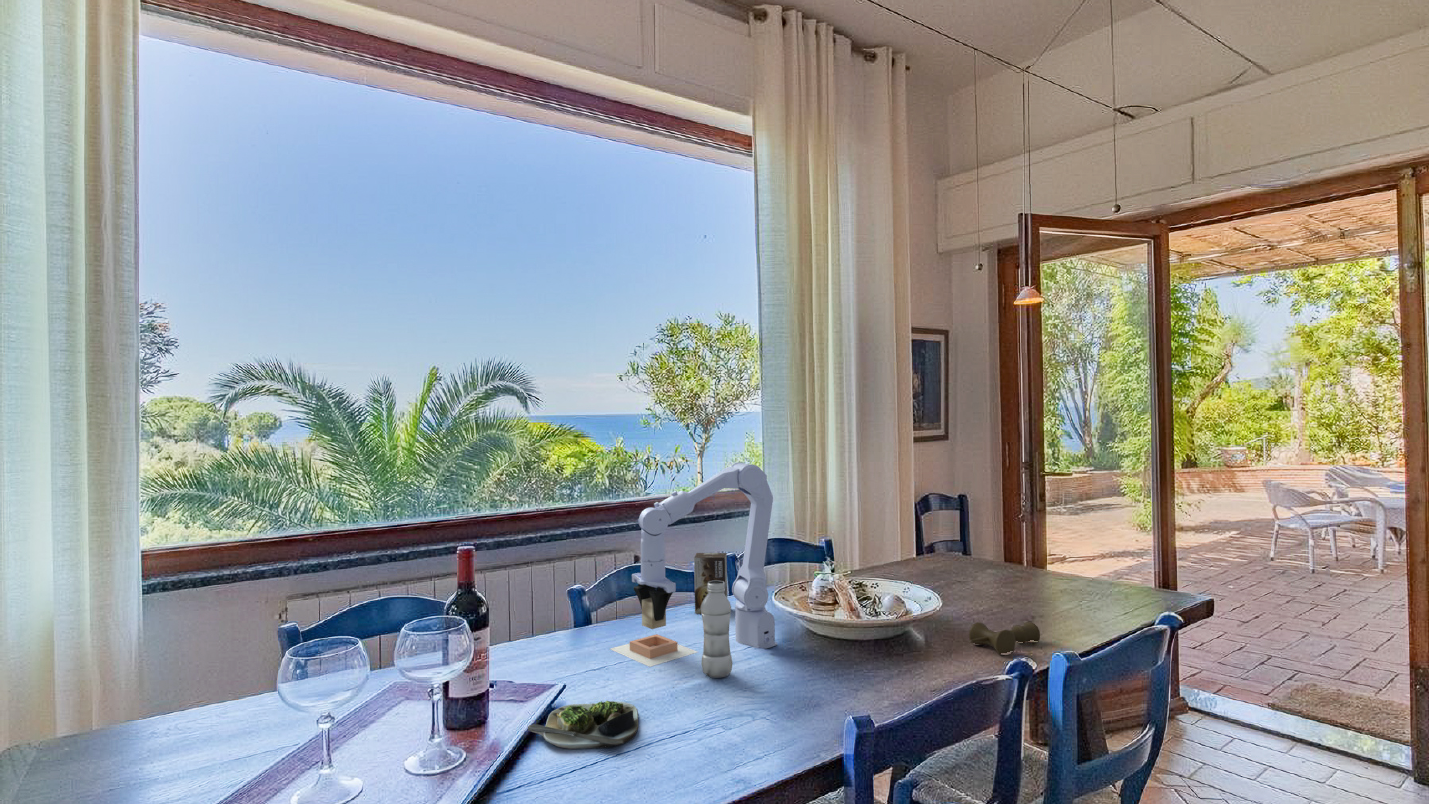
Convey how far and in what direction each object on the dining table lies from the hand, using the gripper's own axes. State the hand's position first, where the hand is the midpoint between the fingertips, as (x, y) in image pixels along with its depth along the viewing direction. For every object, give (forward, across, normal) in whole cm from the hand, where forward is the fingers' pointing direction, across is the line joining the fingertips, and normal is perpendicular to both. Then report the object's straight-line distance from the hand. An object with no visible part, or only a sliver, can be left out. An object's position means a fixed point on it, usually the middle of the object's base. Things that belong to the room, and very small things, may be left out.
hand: (653, 617), depth 163 cm
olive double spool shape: (+9, +53, +64) cm, 84 cm away
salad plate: (+9, +24, -31) cm, 40 cm away
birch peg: (+2, 0, 0) cm, 2 cm away
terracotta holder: (+8, 0, 0) cm, 8 cm away
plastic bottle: (+9, +20, +2) cm, 22 cm away
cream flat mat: (+9, 0, 0) cm, 9 cm away
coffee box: (+9, -18, +34) cm, 39 cm away
